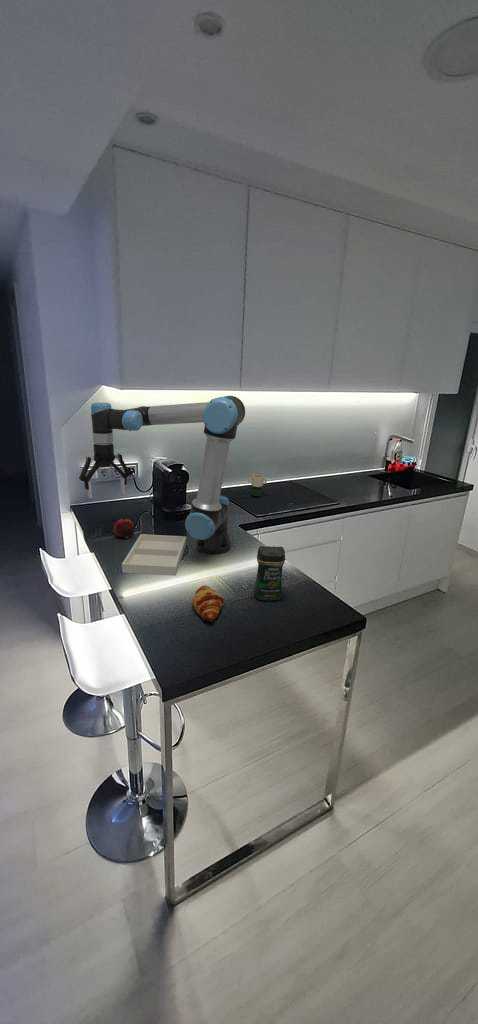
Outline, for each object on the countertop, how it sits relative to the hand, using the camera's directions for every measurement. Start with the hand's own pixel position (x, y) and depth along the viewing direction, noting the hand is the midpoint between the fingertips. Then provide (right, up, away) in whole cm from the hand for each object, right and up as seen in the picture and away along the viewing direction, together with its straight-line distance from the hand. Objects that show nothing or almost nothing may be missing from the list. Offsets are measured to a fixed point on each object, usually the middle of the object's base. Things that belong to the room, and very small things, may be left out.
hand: (106, 494), depth 175 cm
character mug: (+65, +2, +83) cm, 105 cm away
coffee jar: (+64, -36, -27) cm, 79 cm away
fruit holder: (+21, -25, -2) cm, 33 cm away
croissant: (+44, -39, -35) cm, 68 cm away
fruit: (+3, -18, +16) cm, 25 cm away
